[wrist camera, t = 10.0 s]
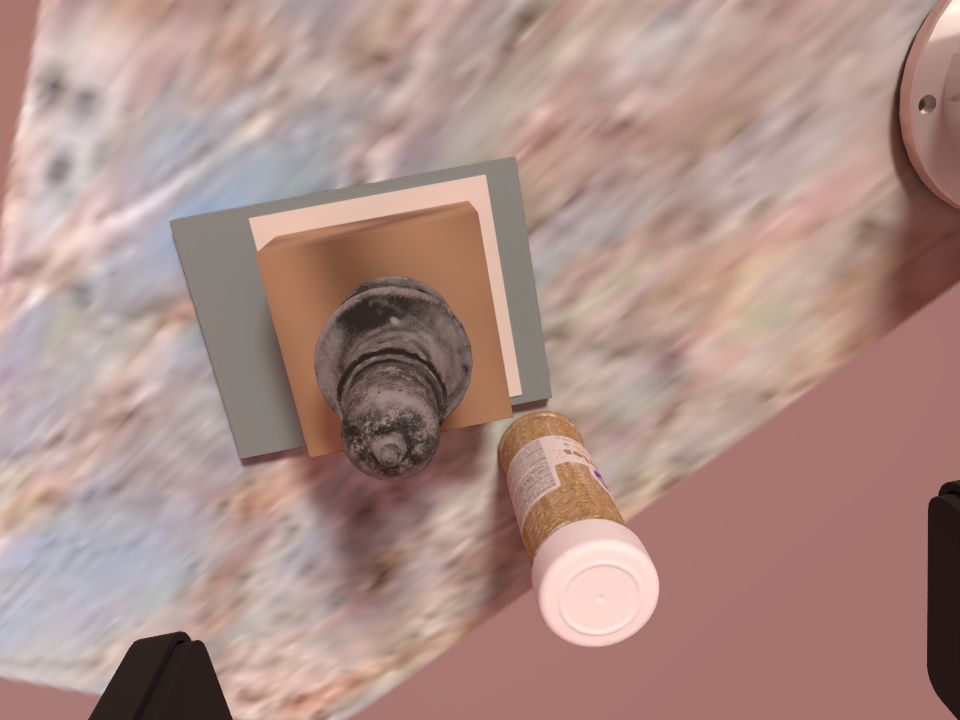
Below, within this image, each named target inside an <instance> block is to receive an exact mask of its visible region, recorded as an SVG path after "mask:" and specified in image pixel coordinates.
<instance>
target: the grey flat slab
mask: <svg viewBox="0 0 960 720" xmlns="http://www.w3.org/2000/svg"><path fill="white" fill-rule="evenodd" d="M463 201H469V202H470V203H471V204H472V206H473V207H474V208H475V209H476V211H477V212H478V215H479V221H480V226H481V232H482V238H483V244H484V250H485V256H486V261H487V267H488V273H489V279H490V285H491V291H492V296H493V302H494V308H495V314H496V320H497V326H498V332H499V337H500V343H501V349H502V355H503V361H504V367H505V372H506V378H507V384H508V390H509V396H510V402H511V405H516V404H521V403H526V402H532V401H537V400H542V399H547V398H552V393H551V386H550V380H549V373H548V367H547V360H546V353H545V347H544V340H543V334H542V327H541V321H540V314H539V307H538V301H537V294H536V288H535V281H534V275H533V268H532V261H531V255H530V248H529V242H528V235H527V229H526V222H525V215H524V209H523V202H522V196H521V189H520V183H519V176H518V169H517V163H516V158H515V157H510V158H505V159H499V160H494V161H489V162H483V163H478V164H472V165H467V166H461V167H456V168H451V169H445V170H440V171H434V172H429V173H423V174H418V175H413V176H407V177H402V178H396V179H391V180H385V181H380V182H375V183H369V184H364V185H358V186H353V187H348V188H342V189H337V190H331V191H326V192H320V193H315V194H310V195H304V196H299V197H293V198H288V199H282V200H277V201H272V202H266V203H261V204H255V205H250V206H245V207H239V208H234V209H228V210H223V211H217V212H212V213H207V214H201V215H196V216H190V217H185V218H179V219H174V220H172V221H169V222H170V226H171V229H172V232H173V236H174V239H175V242H176V246H177V249H178V252H179V256H180V259H181V262H182V266H183V269H184V272H185V276H186V279H187V282H188V285H189V289H190V292H191V295H192V299H193V302H194V305H195V309H196V312H197V315H198V319H199V322H200V325H201V329H202V332H203V335H204V339H205V342H206V345H207V348H208V352H209V355H210V358H211V362H212V365H213V368H214V372H215V375H216V378H217V382H218V385H219V388H220V392H221V395H222V398H223V402H224V405H225V408H226V411H227V415H228V418H229V421H230V425H231V428H232V431H233V435H234V438H235V441H236V445H237V448H238V451H239V455H240V458H241V459H242V458H247V457H252V456H257V455H262V454H267V453H273V452H278V451H283V450H288V449H293V448H298V447H303V446H307V445H306V441H305V438H304V434H303V430H302V427H301V423H300V419H299V415H298V412H297V408H296V404H295V401H294V397H293V393H292V389H291V386H290V382H289V378H288V375H287V371H286V367H285V363H284V360H283V356H282V352H281V349H280V345H279V341H278V337H277V334H276V330H275V326H274V323H273V319H272V315H271V312H270V308H269V304H268V300H267V297H266V293H265V289H264V286H263V282H262V278H261V274H260V271H259V267H258V263H257V260H256V256H255V254H256V253H257V252H258V251H259V250H260V249H262V248H263V247H264V246H265V245H266V244H267V243H269V242H270V241H271V240H272V239H273V238H274V237H276V236H280V235H285V234H291V233H296V232H301V231H307V230H312V229H317V228H323V227H328V226H334V225H339V224H344V223H350V222H355V221H360V220H366V219H371V218H377V217H382V216H387V215H393V214H398V213H403V212H409V211H414V210H420V209H425V208H430V207H436V206H441V205H446V204H452V203H457V202H463Z"/></svg>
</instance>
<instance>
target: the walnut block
mask: <svg viewBox="0 0 960 720" xmlns="http://www.w3.org/2000/svg"><path fill="white" fill-rule="evenodd" d="M255 256H256V260H257V263H258V267H259V271H260V274H261V278H262V282H263V286H264V289H265V293H266V297H267V300H268V304H269V308H270V312H271V315H272V319H273V323H274V326H275V330H276V334H277V337H278V341H279V345H280V349H281V352H282V356H283V360H284V363H285V367H286V371H287V375H288V378H289V382H290V386H291V389H292V393H293V397H294V401H295V404H296V408H297V412H298V415H299V419H300V423H301V427H302V430H303V434H304V438H305V441H306V445H307V449H308V453H309V456H310V457H315V456H320V455H325V454H330V453H335V452H340V451H345V450H344V447H343V443H342V439H341V425H342V421H341V419H340V417H339V416H338V415H337V414H336V413H335V412H334V410H333V409H332V408H331V407H330V406H329V405H328V404H327V402H326V400H325V399H324V397H323V395H322V393H321V391H320V389H319V387H318V384H317V379H316V374H315V369H314V358H315V346H316V343H317V341H318V338H319V335H320V333H321V330H322V327H323V326H324V324H325V323H326V322H327V320H328V319H329V318H330V316H331V315H332V313H333V312H334V311H335V310H336V309H337V308H338V307H340V305H341V304H342V303H343V301H344V300H345V299H346V297H347V296H348V295H349V294H350V293H351V292H353V291H354V290H355V289H357V288H358V287H359V286H360V285H362V284H364V283H367V282H369V281H371V280H374V279H376V278H382V277H389V276H400V277H408V278H413V279H415V280H418V281H420V282H423V283H425V284H427V285H429V286H430V287H431V288H433V289H434V290H435V291H437V292H438V293H439V294H440V295H441V296H442V297H443V298H444V300H445V301H446V302H447V303H448V305H449V306H450V307H451V310H452V312H453V313H454V314H455V316H456V317H457V318H458V319H459V321H460V322H461V323H462V324H463V327H464V329H465V331H466V334H467V336H468V338H469V341H470V344H471V351H472V359H473V366H472V374H471V381H470V384H469V386H468V388H467V391H466V393H465V395H464V398H463V400H462V401H461V402H460V404H459V405H458V406H457V407H456V409H455V410H454V411H453V412H452V414H451V415H450V416H448V417H447V418H446V419H444V420H443V423H442V425H441V426H440V432H441V431H446V430H452V429H457V428H462V427H467V426H472V425H477V424H482V423H487V422H492V421H497V420H502V419H507V418H512V417H513V413H512V407H511V402H510V396H509V390H508V384H507V378H506V372H505V367H504V361H503V355H502V349H501V343H500V337H499V332H498V326H497V320H496V314H495V308H494V302H493V296H492V291H491V285H490V279H489V273H488V267H487V261H486V256H485V250H484V244H483V238H482V232H481V226H480V221H479V215H478V212H477V211H476V209H475V208H474V207H473V206H472V204H471V203H470V202H469V201H463V202H457V203H452V204H446V205H441V206H436V207H430V208H425V209H420V210H414V211H409V212H403V213H398V214H393V215H387V216H382V217H377V218H371V219H366V220H360V221H355V222H350V223H344V224H339V225H334V226H328V227H323V228H317V229H312V230H307V231H301V232H296V233H291V234H285V235H280V236H276V237H274V238H273V239H272V240H271V241H270V242H269V243H267V244H266V245H265V246H264V247H263V248H262V249H260V250H259V251H258V252H257V253H256V254H255Z"/></svg>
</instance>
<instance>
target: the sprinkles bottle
mask: <svg viewBox="0 0 960 720" xmlns="http://www.w3.org/2000/svg"><path fill="white" fill-rule="evenodd" d="M499 459H500V462H501V466H502V468H503V470H504V472H505V473H506V476H507V483H508V488H509V492H510V496H511V500H512V504H513V508H514V511H515V515H516V518H517V522H518V526H519V529H520V533H521V537H522V540H523V544H524V546H525V548H526V550H527V553H528V557H529V559H530V563H531V567H532V573H531V578H532V586H533V590H534V594H535V598H536V601H537V604H538V607H539V610H540V613H541V616H542V618H543V620H544V621H545V623H546V625H547V626H548V627H549V628H550V630H551V631H552V632H553V633H555V634H556V635H557V636H559V637H560V638H562V639H563V640H565V641H567V642H569V643H572V644H575V645H579V646H583V647H603V646H608V645H612V644H615V643H618V642H620V641H623V640H624V639H626V638H628V637H630V636H632V635H633V634H634V633H636V632H637V631H638V630H639V629H640V628H641V627H642V626H643V625H644V624H645V623H646V622H647V621H648V619H649V618H650V617H651V615H652V613H653V611H654V609H655V607H656V604H657V600H658V595H659V580H658V575H657V572H656V569H655V567H654V565H653V563H652V561H651V559H650V557H649V555H648V553H647V551H646V550H645V548H644V546H643V544H642V543H641V542H640V540H639V539H638V537H637V536H636V535H635V534H634V533H633V532H631V531H630V530H629V529H628V528H627V526H626V524H625V522H624V520H623V518H622V516H621V515H620V513H619V511H618V509H617V508H616V504H615V502H614V499H613V497H612V496H611V494H610V492H609V490H608V488H607V487H606V485H605V483H604V481H603V479H602V477H601V475H600V473H599V471H598V469H597V467H596V465H595V463H594V461H593V460H592V458H591V456H590V454H589V453H588V451H587V450H586V449H585V447H584V445H583V441H582V437H581V434H580V432H579V431H578V429H577V428H576V426H575V425H574V424H573V423H572V422H571V421H570V420H568V419H567V418H566V417H564V416H562V415H559V414H557V413H553V412H550V411H546V412H545V411H537V412H534V413H529V414H527V415H524V416H522V417H520V418H518V419H516V420H515V421H514V422H513V423H512V424H511V425H510V426H509V428H508V429H507V430H506V431H505V433H504V435H503V436H502V439H501V442H500V445H499Z"/></svg>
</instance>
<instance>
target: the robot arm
mask: <svg viewBox="0 0 960 720" xmlns="http://www.w3.org/2000/svg"><path fill="white" fill-rule="evenodd" d="M918 106H919V107H918ZM899 117H900V124H901V132H902V139H903V142H904V145H905V148H906V151H907V154H908V157H909V160H910V162H911V164H912V166H913V167H914V169H915V171H916V172H917V174H918V176H919V177H920V179H921V181H922V182H923V183H924V184H925V185H926V186H927V187H928V188H929V189H930V190H931V191H932V192H933V193H934V194H935V195H936V196H937V197H939V198H940V199H942V200H943V201H945V202H946V203H948V204H949V205H951V206H953V207H954V208H957V209H960V0H939V1H938V2H937V3H936V4H935V6H934V7H933V8H932V9H931V11H930V13H929V15H928V16H927V18H926V20H925V21H924V23H923V25H922V27H921V28H920V30H919V32H918V33H917V35H916V38H915V41H914V43H913V46H912V48H911V51H910V53H909V56H908V58H907V61H906V65H905V70H904V74H903V79H902V84H901V88H900V109H899ZM927 614H928V615H927V617H928V618H927V620H928V621H927V624H928V626H927V669H928V674H929V678H930V681H931V683H932V686H933V688H934V690H935V692H936V694H937V695H938V697H939V698H940V699H941V701H942V702H943V703H944V704H945V705H946V706H947V707H948V709H949V710H950V711H951V712H952V713H953V715H954V716H955V717H956V718H957V719H958V720H960V480H958V481H952V482H947V483H945V484H944V485H942V487H941V489H940V491H939V495H938V496H937V497H934V498H932V499H931V501H930V502H929V507H928V613H927ZM88 720H233V719H232V716H231V714H230V711H229V708H228V706H227V703H226V700H225V698H224V695H223V692H222V689H221V687H220V684H219V681H218V679H217V676H216V673H215V671H214V668H213V665H212V662H211V660H210V657H209V654H208V652H207V649H206V647H205V645H204V644H203V642H202V641H199V640H195V641H191V639H190V637H189V636H188V635H187V634H186V633H185V632H181V631H180V632H175V633H170V634H164V635H159V636H154V637H149V638H144V639H139V640H137V641H135V642H134V643H133V644H132V645H131V647H130V648H129V650H128V651H127V653H126V655H125V657H124V658H123V660H122V662H121V664H120V665H119V667H118V669H117V671H116V672H115V674H114V676H113V678H112V679H111V681H110V683H109V684H108V686H107V688H106V690H105V691H104V693H103V695H102V697H101V698H100V700H99V702H98V704H97V706H96V707H95V709H94V711H93V713H92V714H91V716H90V718H89V719H88Z"/></svg>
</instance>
